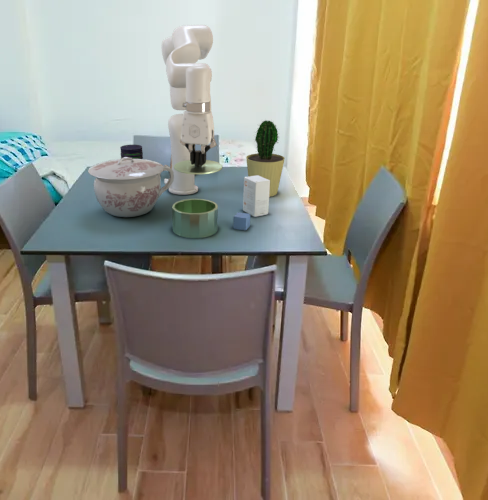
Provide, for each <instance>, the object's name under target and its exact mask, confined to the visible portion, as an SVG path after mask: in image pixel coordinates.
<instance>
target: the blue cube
mask: <svg viewBox="0 0 488 500" xmlns="http://www.w3.org/2000/svg"><path fill="white" fill-rule="evenodd" d="M250 226H251V215H250V214H248V213H247V212H236V214H234V216H233V225H232V228H233V230H239V231H247V230H248V229H249V228H250Z"/></svg>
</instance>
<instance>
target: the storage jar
mask: <svg viewBox="0 0 488 500" xmlns="http://www.w3.org/2000/svg"><path fill="white" fill-rule="evenodd" d="M124 157H129V158H134V159H144V151H143V146H142V144H141V145H140V144H124V145H122V146H120V159H121V158H124Z"/></svg>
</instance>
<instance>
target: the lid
mask: <svg viewBox="0 0 488 500" xmlns="http://www.w3.org/2000/svg"><path fill="white" fill-rule="evenodd" d="M200 154H201V149H200V150H198V149H197V150H196V149H195V151H194V155H195V164H193V165H191V161H190V160H187V161H182V162H179V163H176V164H175V165H174V169H175V170H176V171H178V172H181V173H186V174H195V175H208V174H214V173H217V172H220V171H221V170H222V169H223V164H222V163H220V162H218V161H215V160H209V159H206V163H205V164H204V165H202V166H200Z"/></svg>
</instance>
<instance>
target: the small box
mask: <svg viewBox="0 0 488 500" xmlns="http://www.w3.org/2000/svg"><path fill="white" fill-rule="evenodd" d="M269 191H270V180H268V179H266V178H263V177H261V176H259V175H256V176H249V177H248V176H244V177H243V196H242V197H243V198H242V211H243V212H244V213H247V214H250V216H252V217H253V218H255V217H261V216H265V215H269V209H270V208H269V207H270V206H269V205H270V197H269Z"/></svg>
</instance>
